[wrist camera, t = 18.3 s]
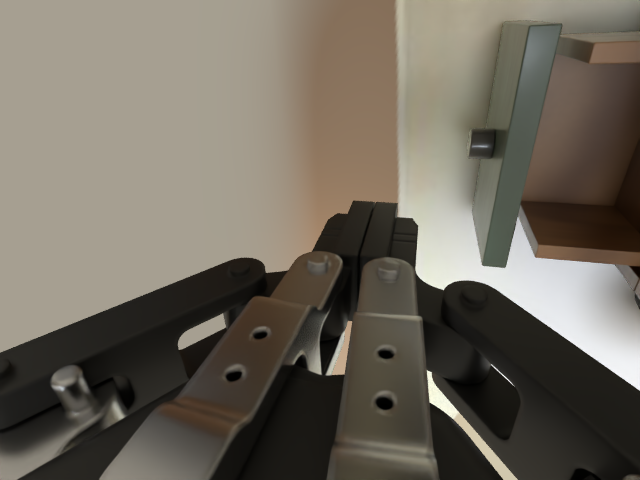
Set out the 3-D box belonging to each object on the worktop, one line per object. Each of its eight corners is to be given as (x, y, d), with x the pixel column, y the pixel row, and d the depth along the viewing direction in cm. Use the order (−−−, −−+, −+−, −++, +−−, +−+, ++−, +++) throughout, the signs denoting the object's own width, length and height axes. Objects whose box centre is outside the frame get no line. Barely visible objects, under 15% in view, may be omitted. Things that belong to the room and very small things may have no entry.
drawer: (453, 210, 27) (458, 264, 21) (479, 22, 21) (496, 26, 15) (613, 220, 24) (668, 283, 19) (692, 12, 19) (804, 12, 13)
